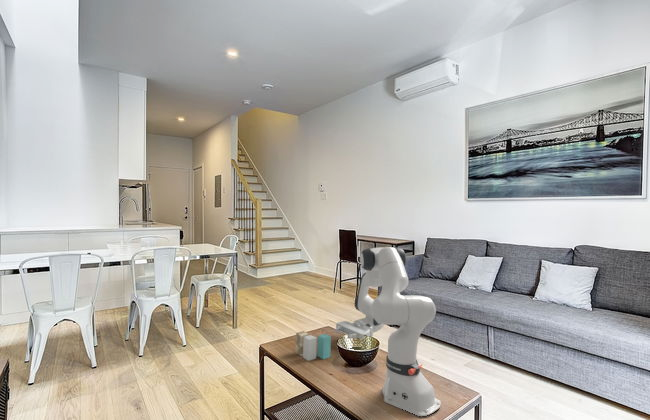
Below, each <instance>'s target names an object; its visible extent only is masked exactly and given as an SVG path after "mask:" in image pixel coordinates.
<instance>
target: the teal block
mask: <svg viewBox="0 0 650 420" xmlns="http://www.w3.org/2000/svg"><path fill="white" fill-rule="evenodd" d="M331 344H332V336H331V335H328V334H327V333H323V334H322V333H321V334H319V335H318V336H317V349H316V357H318V358H320V359H322V360H326V359H329V358H331V350H332V349H331V348H332V347H331Z"/></svg>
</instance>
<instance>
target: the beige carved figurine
mask: <svg viewBox="0 0 650 420" xmlns="http://www.w3.org/2000/svg"><path fill="white" fill-rule="evenodd" d="M309 335H310V333H309V332H306V331H305V330H304V331H299V332H296V333H295V355H298V356H300V357H303V340H304V337H305V336H309Z"/></svg>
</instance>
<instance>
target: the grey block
mask: <svg viewBox="0 0 650 420" xmlns="http://www.w3.org/2000/svg"><path fill="white" fill-rule="evenodd" d="M317 347H318V337H316V336H314V335H312V334H309V336H305V337H304V340H303V356H302V358H303V359H304V360H306V361H307V362H309V361H313V360H315V359H317Z"/></svg>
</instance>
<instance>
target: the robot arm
mask: <svg viewBox="0 0 650 420" xmlns="http://www.w3.org/2000/svg"><path fill="white" fill-rule="evenodd" d="M359 263H360V265H361V268H362V269H364V271H366V272H364V273H363V274H362V276H361V278H360V281H359V285H358V289H357V294H356V296H355V300H354V308H355V310H357V311H359V312H360V313H362V314H363V315H365V317H362V318H360V319H356V320H354V321H353V322H350V321H348V320H343V321H338V322H336V324H335V327H336V328H334V333H336V334H339V333H340V332H341V333H344V334H346V335H347V338H348V339H349V340H351V339H353V338H357V337H358V338H360V339H361V340H362V339H364V335H367V336H371V337H372V338H373V335H374V333H376V332H378V331H380V330H381V329H382V328H383V327H384V325H387V326H389V325H391V326H392V325H393V326H394V325H395V326H396V325H400V326H399V328H398V329H396V330H395V331H393V332H392V333H391V334H390V335H389V336H388V339H387V355H386V361H385V364H386V365H385V366H386V373H385V380H384V382H383V383H384V384H383V386H382V390H381V392H382V395H383V401H384V403H386V404H388V405H391V406H393V407H394V408H395V407H396V408H398V409H400V410H402V409H403V411H405V410H406V411H405V412H407V411H408V413H409V412H410V414H412V413H413V414H412V415H414V414H415V416H416V415H417V416H416V417H419V416H426V415H429V414H431V413H433V412H434V411H436V410H437V409H438V408H439V407H440V405H441V406H442V401H441V400H440V399H438V398H437V397H436V395H435V389H434V387H433V385H432V384H431V383H430V382H429V381H428V379H427V378H426V377H425V376H424V375H423V373H422V372H421V368H423V367H422V366H423V364H420V365H419V362H418V359H417V350H418V343H419V339H420V336H421V334H422V332H423V331H424V329H425V328H426V326H428V325H429V324H431V322H433V320H434V319H435V317H436V315H437V314H436V313H437V308H436V305H435V303H434V301H433V300H432V299H431V298H430V297H428V296H425V295H424V296H423V295H417V294H416V295H411V294H410V295H404V294H403V295H402V294H401V293H402V292H403V291H404V290H406V288H408V286H409V277H408V274H407V270H406V268H405V266H406V264H407V255H406V253H405V250H404V249H403V248H401V247H398V246H397V247H392V246H385V247H373V248H365V249H363V250H362V251H361V253H360V256H359ZM370 287H372V288H377V287H381V291H380V293H379V295H377V297H375V298H374V299H373V298H372V297H371V296H370V295H369V289H370ZM356 334H358V336H357V335H356ZM361 340H360V341H361ZM437 404H439V405H437ZM440 408H441V407H440Z"/></svg>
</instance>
